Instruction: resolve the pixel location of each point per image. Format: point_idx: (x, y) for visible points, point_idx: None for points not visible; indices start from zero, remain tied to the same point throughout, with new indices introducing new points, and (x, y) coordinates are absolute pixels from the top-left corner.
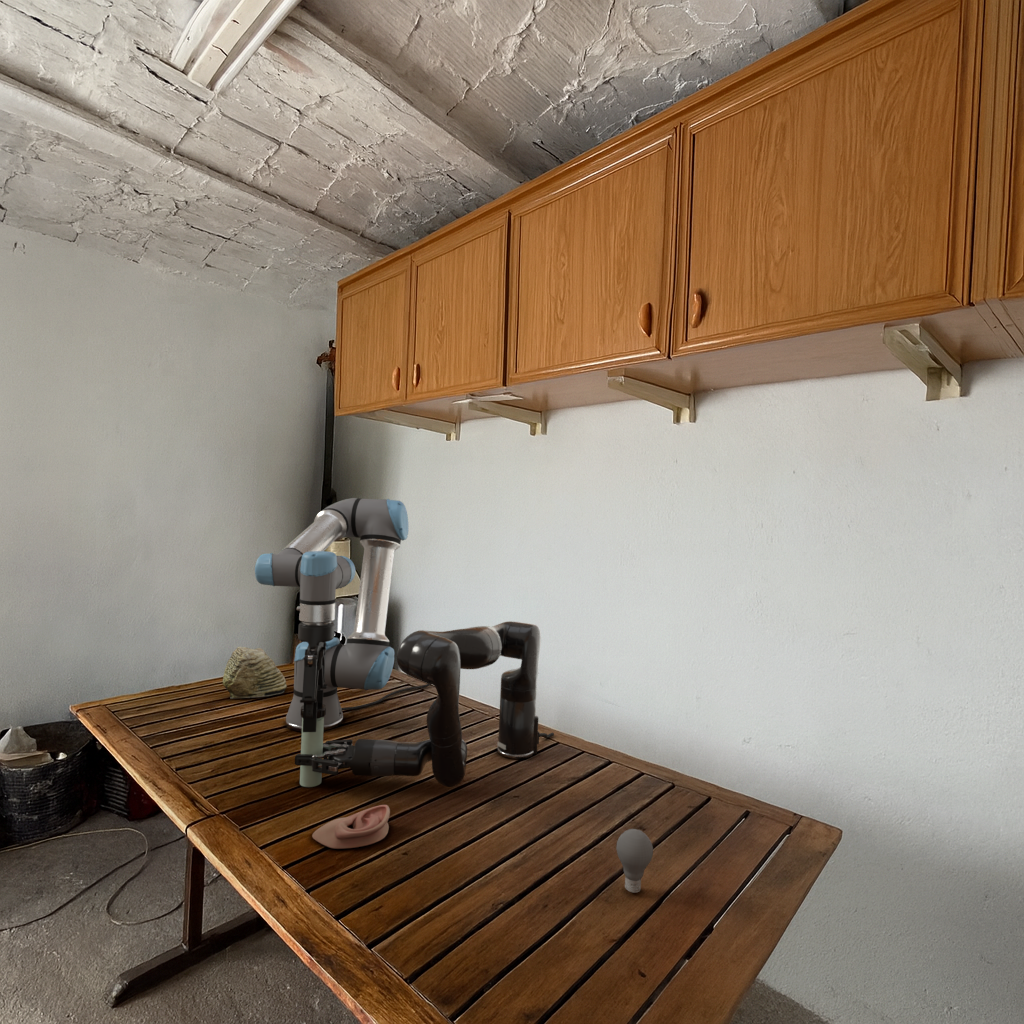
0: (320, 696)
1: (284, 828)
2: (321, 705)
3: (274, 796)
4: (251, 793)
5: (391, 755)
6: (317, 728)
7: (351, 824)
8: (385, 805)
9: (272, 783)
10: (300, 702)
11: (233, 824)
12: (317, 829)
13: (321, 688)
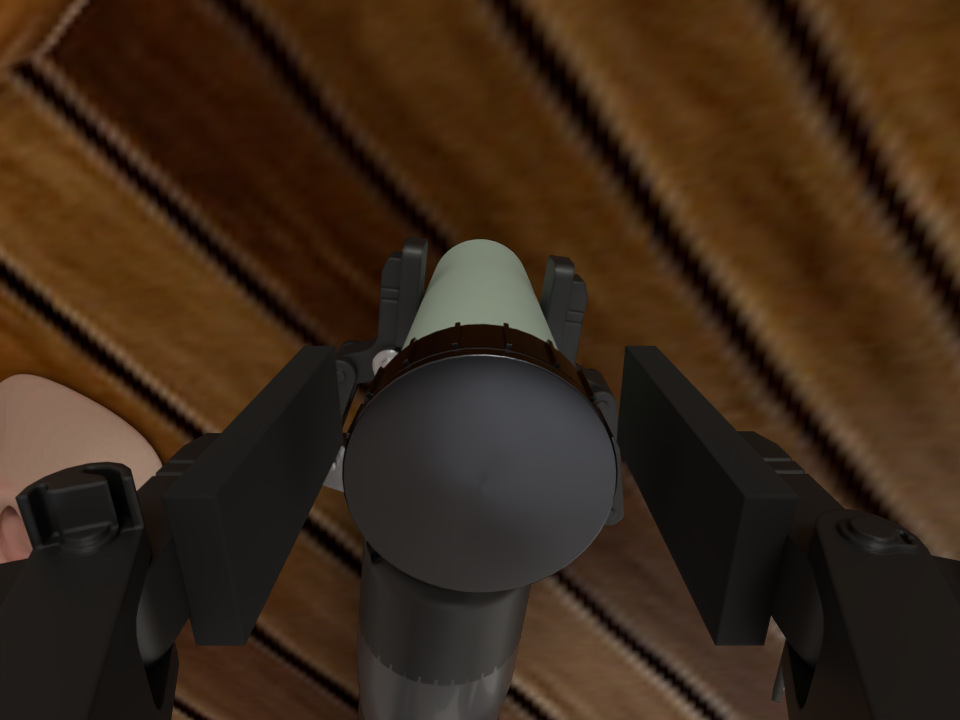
0: (690, 560)
1: (68, 258)
2: (511, 554)
3: (338, 147)
4: (365, 16)
5: (364, 707)
6: None
7: None
8: None
9: (477, 102)
10: (72, 472)
11: (54, 17)
12: (38, 392)
13: (785, 636)
